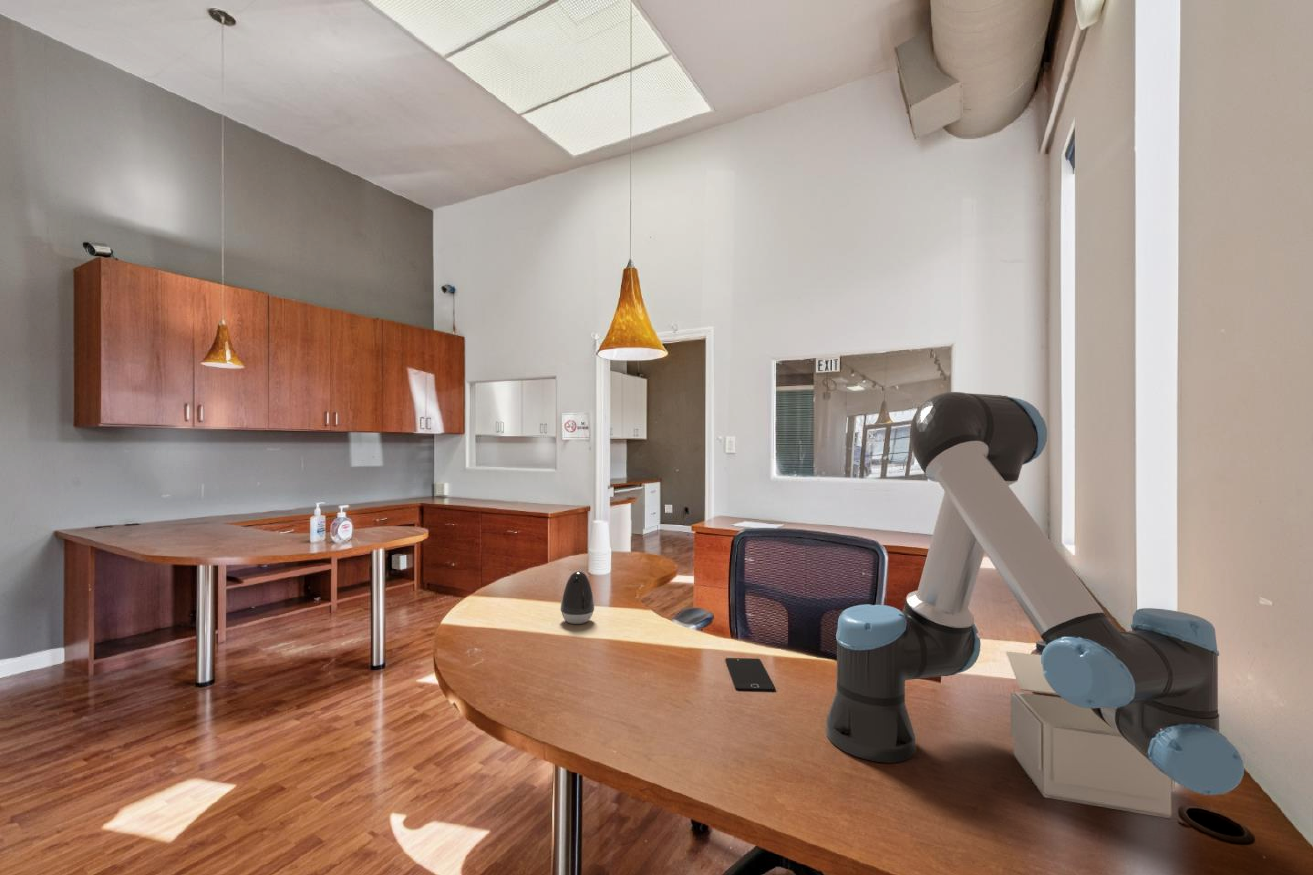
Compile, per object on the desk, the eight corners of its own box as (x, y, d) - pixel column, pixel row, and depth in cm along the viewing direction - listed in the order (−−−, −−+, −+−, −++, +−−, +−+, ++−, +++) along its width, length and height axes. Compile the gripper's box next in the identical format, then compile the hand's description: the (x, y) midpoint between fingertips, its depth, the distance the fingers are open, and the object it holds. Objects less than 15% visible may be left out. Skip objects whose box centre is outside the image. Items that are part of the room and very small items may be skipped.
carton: (1041, 798, 81) (1041, 725, 82) (1009, 755, 93) (1009, 691, 94) (1179, 822, 77) (1178, 744, 77) (1127, 773, 89) (1127, 705, 89)
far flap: (1006, 651, 100) (1006, 652, 100) (1020, 688, 93) (1020, 690, 94) (1094, 660, 96) (1093, 662, 97) (1115, 700, 90) (1115, 701, 90)
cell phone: (735, 692, 117) (735, 688, 117) (724, 661, 135) (724, 657, 135) (776, 693, 117) (776, 688, 117) (759, 662, 135) (759, 658, 135)
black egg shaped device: (554, 625, 158) (556, 573, 158) (566, 615, 168) (568, 567, 169) (588, 628, 156) (589, 576, 157) (597, 618, 166) (599, 569, 167)
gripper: (1075, 727, 76) (1014, 667, 99) (1187, 742, 73) (1097, 677, 96) (1074, 674, 77) (1013, 626, 99) (1186, 687, 73) (1096, 634, 96)
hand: (1054, 651), depth 98 cm, fingers closed
